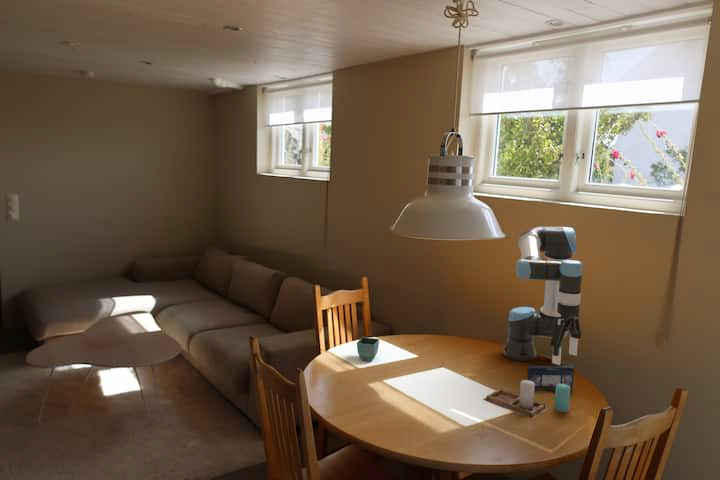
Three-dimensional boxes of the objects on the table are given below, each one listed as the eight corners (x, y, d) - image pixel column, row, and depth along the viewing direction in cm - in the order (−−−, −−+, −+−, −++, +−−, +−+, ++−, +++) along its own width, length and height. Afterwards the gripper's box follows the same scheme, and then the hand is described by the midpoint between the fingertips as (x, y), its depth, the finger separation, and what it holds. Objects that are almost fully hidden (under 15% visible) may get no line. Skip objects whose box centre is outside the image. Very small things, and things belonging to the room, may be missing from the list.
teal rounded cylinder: (557, 407, 197) (559, 382, 195) (570, 411, 193) (572, 386, 192) (551, 411, 193) (553, 386, 192) (564, 416, 190) (566, 390, 188)
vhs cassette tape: (528, 391, 211) (529, 367, 209) (525, 388, 214) (527, 365, 212) (573, 391, 211) (575, 368, 209) (570, 388, 214) (572, 365, 212)
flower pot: (356, 361, 240) (356, 342, 239) (361, 354, 248) (361, 336, 247) (374, 363, 238) (374, 345, 236) (379, 356, 246) (379, 338, 245)
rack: (499, 392, 209) (499, 386, 208) (548, 410, 194) (549, 404, 193) (482, 401, 200) (482, 395, 200) (532, 421, 186) (533, 415, 185)
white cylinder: (523, 403, 197) (524, 378, 196) (535, 408, 194) (537, 382, 192) (516, 407, 194) (518, 382, 192) (528, 412, 190) (530, 386, 189)
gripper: (573, 295, 198) (569, 348, 201) (542, 307, 181) (538, 364, 184) (593, 299, 193) (589, 353, 196) (563, 311, 176) (558, 371, 179)
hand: (564, 359), depth 190 cm, fingers open, 13 cm apart
